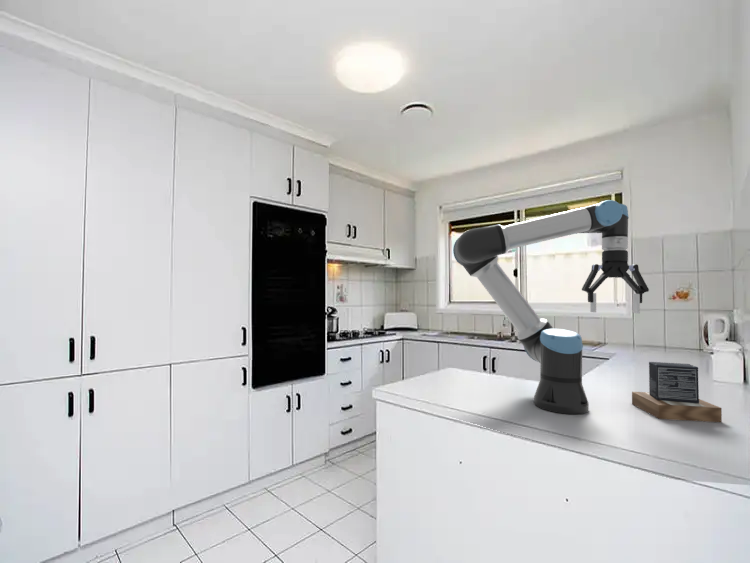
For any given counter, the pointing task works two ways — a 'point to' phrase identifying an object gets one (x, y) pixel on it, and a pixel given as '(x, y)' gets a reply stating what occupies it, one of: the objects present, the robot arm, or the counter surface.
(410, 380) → the counter surface
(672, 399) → the small box
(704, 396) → the counter surface
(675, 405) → the wooden block
